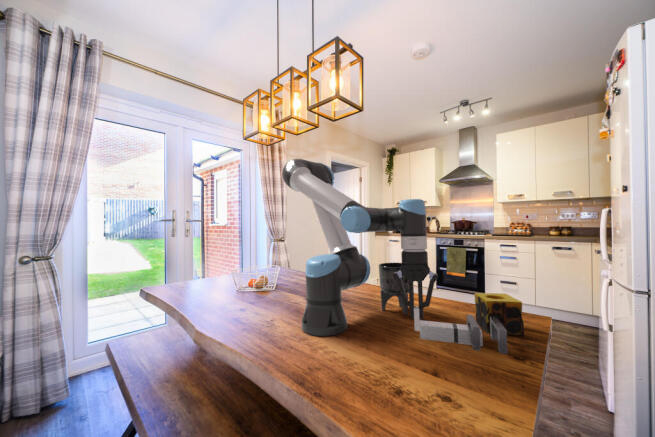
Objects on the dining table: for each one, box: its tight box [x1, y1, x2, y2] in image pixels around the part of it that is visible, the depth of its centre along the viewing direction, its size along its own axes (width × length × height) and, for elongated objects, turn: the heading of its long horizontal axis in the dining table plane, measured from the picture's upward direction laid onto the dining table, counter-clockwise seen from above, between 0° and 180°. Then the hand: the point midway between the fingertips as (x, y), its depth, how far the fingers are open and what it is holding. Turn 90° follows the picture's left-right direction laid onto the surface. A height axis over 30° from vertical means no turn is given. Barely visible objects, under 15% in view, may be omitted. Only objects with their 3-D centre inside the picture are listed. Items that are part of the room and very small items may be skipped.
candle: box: [474, 292, 525, 337], centre depth 82 cm, size 10×10×10 cm
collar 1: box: [466, 314, 481, 352], centre depth 73 cm, size 2×10×6 cm, turn 160°
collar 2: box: [490, 317, 508, 355], centre depth 71 cm, size 2×10×6 cm, turn 160°
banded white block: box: [419, 319, 484, 347], centre depth 75 cm, size 16×4×4 cm, turn 69°
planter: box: [378, 262, 409, 316], centre depth 101 cm, size 13×13×18 cm
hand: (417, 329), depth 78 cm, fingers closed
